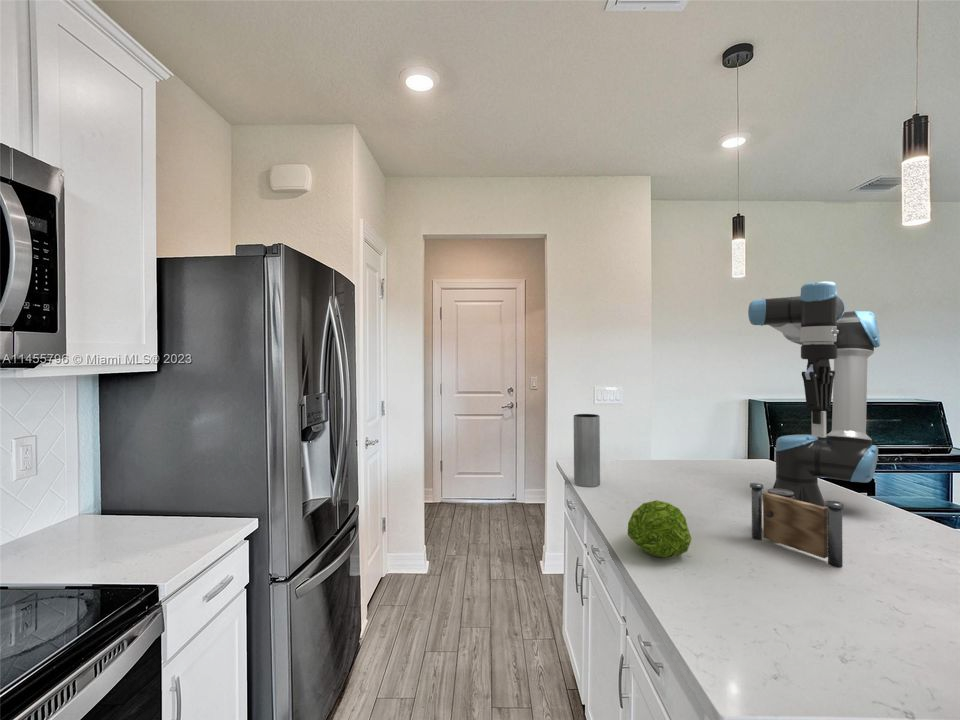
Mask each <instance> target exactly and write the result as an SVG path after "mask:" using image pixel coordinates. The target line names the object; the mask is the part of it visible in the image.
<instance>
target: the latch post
mask: <svg viewBox="0 0 960 720" xmlns="http://www.w3.org/2000/svg"><path fill="white" fill-rule="evenodd" d="M749 488H751V539H753V540H755V541H756V540H757V541H762V540H763V515H762V513H763V492H762V491H763V489H764V484H762V483H757V482H751V483H749Z"/></svg>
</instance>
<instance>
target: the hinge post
mask: <svg viewBox="0 0 960 720" xmlns="http://www.w3.org/2000/svg"><path fill="white" fill-rule="evenodd" d="M825 507H827V508H828V557H827V565H829V566H830V567H832V568H843V564H844V563H843V510H844V509H845V503H843V502H842V501H841V502H840V501H836V500H827V501H826V500H825Z"/></svg>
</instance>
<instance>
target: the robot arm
mask: <svg viewBox="0 0 960 720" xmlns="http://www.w3.org/2000/svg"><path fill="white" fill-rule="evenodd" d="M747 310H748V313H747V314H748V319H749V322H750V324H751V325H752V326H761V327H763V326H770V327H771V328H773V329H775V330H776V331H778V332H780V333H781V334H782V335H783V337H784V338H785V339H786V340H788V341H789V342H792V343H794V344H798V345H800V358H801V360H807V362H806V363H807V364H806V371H801V376H802V380H803V386H804V387H803V388H804V394H805V403H806V410H807V411H811V434H788V435H781V436H779V437H778V438H777V439H776V442H775V449H774V451H775V481H774V483H773V484H774V485H773V487H772V488H777V489H785V490H789V491H792V492H793V493H794V497H795V499H796V500H799V501H803V502H807V503H811V504H815V505H819V506H823V507H825V500H824V497H823V494H822V491H821V490H820V486H819V485H818V483H819V482H818V477H819V478H827V479H833V480H838V481H839V480H841V481H847V482H851V483H853V482H854V483H865V484H866V483H870V482H871V481H872V479H873V478H874V475H875V471H876V468H877V462H878V455H879V447H878V446H877V445H876V444H873V439H872V438H871V437H870V436H869V435H867V404H868V403H867V400H868V397H867V396H868V395H867V394H868V393H867V392H868V359H869V357H871V356H872V355H874V351H875V348H879V347H881V338H880V337H881V336H880V330H879V325H878V321H877V317H876V315H875V313H874V312H872V311H869V310H865V311H864V310H863V311H862V310H861V311H860V310H853V311H846V305H845V303H844V300H843V298H841V297H840V296H838V291H837V284H836V283H835V282H833V281H816V282H815V281H814V282H809V283H804V284H803V285H802V286H801V288H800V295H799V296H798V295H797V296H789V297H788V296H787V297H774V298H773V297H772V298H761V299H753V300H752V301H751V302H750V303H749V305H748V309H747ZM830 360H833V370H832V367H831V363H830ZM831 404H832V408H831ZM831 409H832V414H831V415H832V416H831V430H830V432H829V433H827V412H831ZM819 438H823V439H824V438H825V440H819Z"/></svg>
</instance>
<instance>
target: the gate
mask: <svg viewBox="0 0 960 720" xmlns="http://www.w3.org/2000/svg"><path fill="white" fill-rule="evenodd" d="M762 513H763V515H762V539H765V540H769V541H770V540H771V541H770V542H773V541H774V542H773V543H776V542H777V543H776V544H780V545H783V546H786V547H790V548H792V549H795V550H797V551H802V552H804V553H807V554H810V555H813V556H816V557H819V558H822V559H826V558H827V559H828V507H827V506H824V507H823V506H819V505H815V504H811V503H807V502H803V501H799V500H795V499H791V498H787V497H783V496H779V495H775V494H771V493H768V492H764V493H763V492H762Z"/></svg>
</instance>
